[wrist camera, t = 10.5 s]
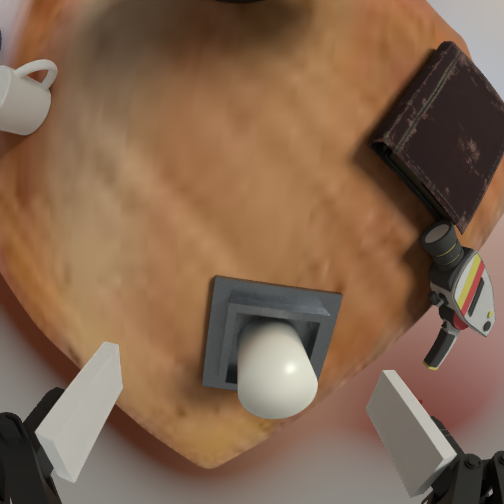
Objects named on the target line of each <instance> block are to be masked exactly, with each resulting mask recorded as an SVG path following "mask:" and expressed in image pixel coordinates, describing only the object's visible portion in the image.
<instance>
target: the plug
mask: <svg viewBox="0 0 504 504" xmlns="http://www.w3.org/2000/svg"><path fill="white" fill-rule="evenodd" d="M317 387H318V382H317V378H316V375H315V373H314V370H313V368H312V366H311V363H310V361H309V359H308V356H307V354H306V352H305V349H304V347H303V345H302V342H301V340H300V338H299V335H298V333H297V331H296V329H295V328H294V327H293V326H292V325H291V324H290V323H289V322H287V321H285V320H283V319H280V318H276V317H265V318H261V319H258V320H255V321H253V322H251V323H250V324H249V325H247V326H246V327H245V328H244V330H243V331H242V332H241V334H240V336H239V339H238V398H239V401H240V403H241V404H242V406H243V407H244V408H245V409H246V410H247V411H248V412H250V413H251V414H253V415H255V416H258V417H261V418H265V419H281V418H286V417H290V416H292V415H295V414H297V413H299V412H300V411H302V410H303V409H305V408H306V407H307V406H308V405H309V404H310V403H311V402H312V400H313V399H314V397H315V395H316V392H317Z"/></svg>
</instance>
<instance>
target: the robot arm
mask: <svg viewBox="0 0 504 504" xmlns="http://www.w3.org/2000/svg"><path fill="white" fill-rule="evenodd" d="M218 1H224V2H237V3H239V2H252V1H258V0H218ZM122 389H123V385H122V377H121V367H120V356H119V345H118V344H113V343H109V342H105V341H104V343H103V344H102V345H101V346H100V348H99V349H98V350H97V351H96V352H95V354H94V355H93V356H92V357H91V359H90V360H89V361H88V362H87V364H86V365H85V366H84V367H83V369H82V370H81V371H80V372H79V374H78V375H77V376H76V377H75V379H74V380H73V382H72V383H71V384H70V385H69V387H68V388H67V389H66V390H64V389H61V388H58V387H56V388H54V389H52V390H50V391H49V392H48V393H46V395H45V396H44V397H43V398H42V401H40V402H39V403H38V404H37V407H35V408H34V409H33V411H32V412H31V413H30V415H29V416H28V417H27V418H26V420H25V421H24V422H23V423H22V421H21V419H20V418H19V417H18V416H17V415H16V414H13V413H9V412H4V413H0V504H10V497H11V501H12V504H62V503H61V500H60V498H59V495H58V493H57V490H56V487H55V485H54V482H53V479H52V477H51V475H50V474H51V472H52V470H53V468H54V470H55V472H56V473H57V475H58V476H59V477H62V478H64V479H66V480H68V481H71V482H73V483H75V482H76V480H77V478H78V476H79V473H80V471H81V469H82V467H83V465H84V463H85V461H86V459H87V457H88V455H89V453H90V451H91V449H92V447H93V445H94V442H95V441H96V438H97V437H98V435H99V433H100V431H101V429H102V427H103V425H104V423H105V421H106V419H107V417H108V415H109V413H110V411H111V410H112V408H113V406H114V404H115V402H116V400H117V398H118V396H119V395H120V393H121V391H122ZM366 411H367V413H368V415H369V417H370V419H371V421H372V423H373V425H374V427H375V429H376V431H377V433H378V434H379V436H380V438H381V440H382V442H383V444H384V446H385V448H386V450H387V452H388V454H389V456H390V458H391V460H392V462H393V464H394V466H395V468H396V470H397V472H398V474H399V476H400V478H401V480H402V482H403V484H404V486H405V488H406V490H407V492H408V494H409V496H410V498H411V497H414V496H417V495H420V494H423V493H424V492H425V491H426V490H427V489H428V488H429V487H430V486H431V487H432V488H433V491H432V492H431V493H430V494H429V495H428V496H427V497H426V498H425V499H424V500H423V501H422V503H421V504H424V503H425V502H426V501H427V500H428V502H427V504H504V451H498V452H497V453H495V455H494V456H493V457H492V458H491V459H488V460H481V459H480V458H479V457H478V456H476V455H474V454H464V452H463V451H462V449H461V448H460V447H459V446H458V444H457V443H456V441H455V440H454V439H453V437H452V436H451V435H450V433H449V432H448V431H447V430H446V428H445V427H444V425H443V424H442V423H441V422H440V421H439V420H438V419H436V418H435V417H434V416H431V417H430V416H429V415H428V414H427V412H426V411H425V410H424V408H423V407H422V406H421V404H420V403H419V402H418V400H417V399H416V398H415V396H414V395H413V394H412V392H411V391H410V390H409V389H408V387H407V386H406V385H405V383H404V382H403V381H402V380H401V378H400V377H399V376H398V375H397V373H396V372H395V370H383V371H382V372H381V375H380V377H379V380H378V382H377V385H376V387H375V389H374V392H373V394H372V396H371V398H370V401H369V403H368V405H367V407H366ZM491 489H492V490H493V494H492V495H491V496H489V493H488V492H489V491H490V490H491Z"/></svg>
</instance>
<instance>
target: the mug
mask: <svg viewBox="0 0 504 504" xmlns="http://www.w3.org/2000/svg"><path fill="white" fill-rule="evenodd" d="M45 69H46V70H48V73H47V76H46V77H45V79H44V80H43V82H42V83H39V82H38V81H36V80H34V79H32V78H30V77H28V76H26V75H27V74H29V73H32V72H35V71H38V70H45ZM57 72H58V70H57V67H56V65H55V64H54V63H53V62H52V61H50V60H46V59H42V60H36V61H33V62H30V63H27V64H25V65H23V66H21V67H19V68H18V69H16V70H14V69H12V68H10V67H8V66H5V65H3V66H0V130H2V131H6V132H11V133H15V134H19V135H29V134H31V133H33V132H34V131H36V130H37V129H38V128H39V127H40V126H41V124H42V123H43V122H44V120H45V118H46V116H47V114H48V112H49V109H50V104H51V93H50V90H49V89H48V88H49V87H50V86H51V85H52V83H53V82H54V80H55V78H56V76H57Z"/></svg>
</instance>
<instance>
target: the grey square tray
mask: <svg viewBox="0 0 504 504" xmlns="http://www.w3.org/2000/svg"><path fill="white" fill-rule="evenodd" d="M342 296H343V295H342V294H341V293H339V292H331V291H323V290H316V289H308V288H301V287H294V286H286V285H279V284H272V283H265V282H259V281H252V280H245V279H239V278H232V277H226V276H219V275H216V277H215V284H214V291H213V298H212V306H211V313H210V321H209V329H208V337H207V345H206V354H205V362H204V371H203V380H202V386H207V387H213V388H221V389H228V390H236V391H238V339H239V336H240V334H241V332H242V331H243V330H244V328H245V327H246V326H247V325H249V324H250V323H251V322H253V321H255V320H258V319H261V318H265V317H276V318H280V319H283V320H285V321H287V322H289V323H290V324H291V325H292V326H293V327H294V328H295V329H296V331H297V333H298V335H299V338H300V340H301V342H302V345H303V347H304V349H305V352H306V354H307V356H308V359H309V361H310V363H311V366H312V368H313V370H314V373H315V375H316V378H317V382H318V379H319V376H320V373H321V370H322V367H323V364H324V360H325V357H326V354H327V351H328V347H329V344H330V341H331V337H332V334H333V330H334V327H335V323H336V319H337V316H338V312H339V308H340V304H341V300H342Z"/></svg>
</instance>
